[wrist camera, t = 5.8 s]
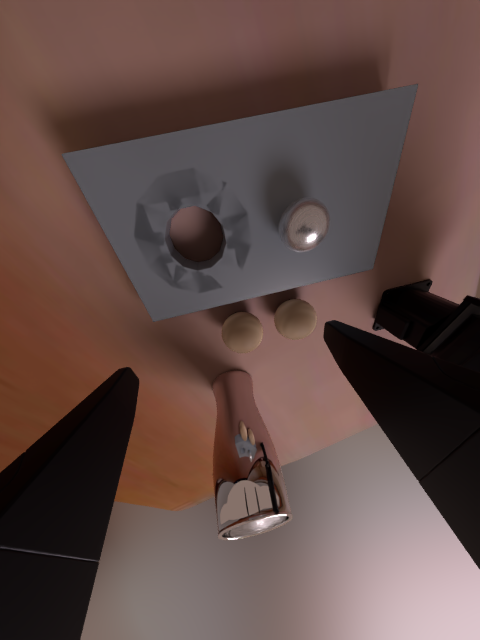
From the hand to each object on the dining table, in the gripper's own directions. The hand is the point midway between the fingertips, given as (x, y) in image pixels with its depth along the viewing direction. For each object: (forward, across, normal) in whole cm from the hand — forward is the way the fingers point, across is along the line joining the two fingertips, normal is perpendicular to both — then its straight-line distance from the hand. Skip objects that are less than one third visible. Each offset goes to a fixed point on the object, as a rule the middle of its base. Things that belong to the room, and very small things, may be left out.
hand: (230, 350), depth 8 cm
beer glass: (+12, +2, +18) cm, 22 cm away
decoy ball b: (+10, -1, +7) cm, 12 cm away
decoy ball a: (+10, -7, +7) cm, 14 cm away
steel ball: (+8, -7, -3) cm, 11 cm away
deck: (+12, -4, -4) cm, 13 cm away
